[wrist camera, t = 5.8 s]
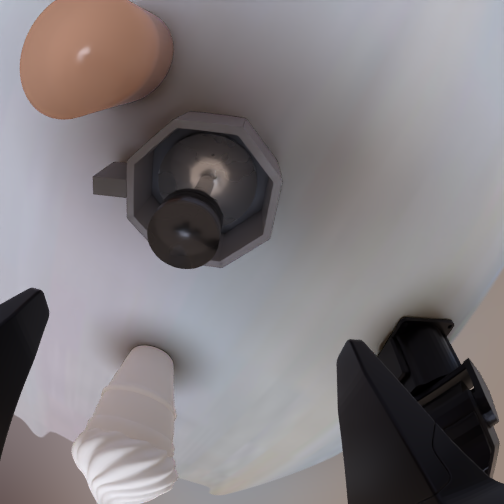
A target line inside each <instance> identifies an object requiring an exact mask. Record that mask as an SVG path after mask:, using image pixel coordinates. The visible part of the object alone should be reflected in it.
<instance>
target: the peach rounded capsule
mask: <svg viewBox="0 0 504 504" xmlns="http://www.w3.org/2000/svg"><path fill="white" fill-rule="evenodd" d="M173 51H174V48H173V39H172V36H171V33H170V31H169V29H168V27H167V26H166V24H165V23H164V22H163V21H162V20H161V19H160V18H159V17H157V16H156V15H154V14H152V13H150V12H149V11H147V10H145V9H143V8H141V7H140V6H138V5H136V4H134V3H132V2H130V1H128V0H55V1H54V2H53V3H51V4H50V5H49V6H48V7H47V8H46V9H45V10H44V11H43V12H42V13H41V14H40V15H39V17H38V18H37V19H36V21H35V22H34V24H33V25H32V27H31V29H30V30H29V32H28V35H27V37H26V39H25V42H24V45H23V48H22V52H21V59H20V77H21V83H22V87H23V90H24V92H25V94H26V97H27V98H28V100H29V101H30V103H31V104H32V105H33V106H34V107H35V108H36V109H37V110H38V111H39V112H41V113H42V114H44V115H46V116H48V117H51V118H55V119H73V118H77V117H81V116H84V115H87V114H90V113H94V112H97V111H101V110H104V109H108V108H111V107H115V106H119V105H123V104H127V103H131V102H134V101H137V100H139V99H142V98H144V97H145V96H147V95H148V94H150V93H151V92H152V91H154V90H155V89H156V88H157V87H158V86H159V85H160V83H161V82H162V81H163V79H164V78H165V76H166V75H167V73H168V71H169V69H170V66H171V63H172V58H173Z"/></svg>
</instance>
